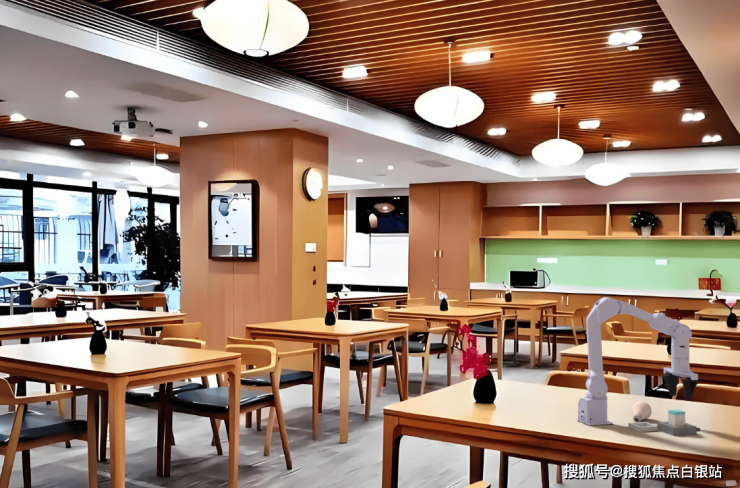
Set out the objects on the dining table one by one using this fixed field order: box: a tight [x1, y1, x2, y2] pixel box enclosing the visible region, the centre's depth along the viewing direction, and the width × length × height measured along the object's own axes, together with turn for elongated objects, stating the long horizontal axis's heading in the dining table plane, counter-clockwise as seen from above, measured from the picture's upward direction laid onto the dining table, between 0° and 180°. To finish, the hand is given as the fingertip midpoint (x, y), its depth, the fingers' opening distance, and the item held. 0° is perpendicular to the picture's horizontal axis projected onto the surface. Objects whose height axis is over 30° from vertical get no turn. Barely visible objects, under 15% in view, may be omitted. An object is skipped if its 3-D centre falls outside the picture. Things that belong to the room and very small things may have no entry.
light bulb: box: [631, 400, 653, 423], centre depth 245 cm, size 7×7×11 cm
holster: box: [627, 421, 659, 433], centre depth 232 cm, size 7×6×2 cm
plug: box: [667, 409, 686, 426], centre depth 229 cm, size 4×3×7 cm
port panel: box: [656, 421, 701, 436], centre depth 229 cm, size 14×8×2 cm, turn 105°
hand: (680, 397), depth 236 cm, fingers open, 7 cm apart
